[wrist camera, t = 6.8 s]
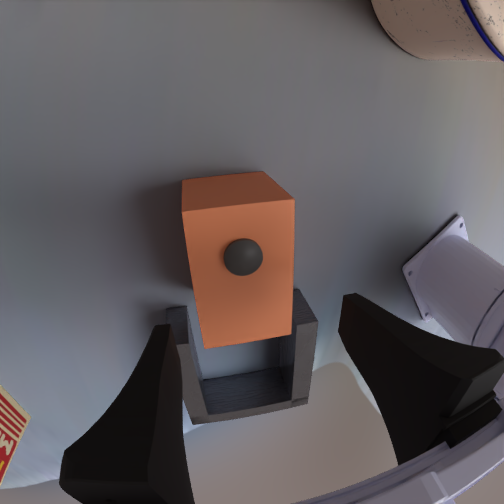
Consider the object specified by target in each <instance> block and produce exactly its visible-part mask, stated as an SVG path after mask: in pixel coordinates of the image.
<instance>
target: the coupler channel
mask: <svg viewBox="0 0 504 504" xmlns="http://www.w3.org/2000/svg"><path fill="white" fill-rule="evenodd" d="M166 324H171V327H172V331H173V335H174V339H175V342H176V346H177V350H178V353H179V357H180V361H181V371H182V381H183V400H184V403H185V405H186V408H187V411H188V414H189V416H190V419H191V421H192V424H193V425H195V424H204V423H210V422H218V421H225V420H231V419H238V418H243V417H249V416H254V415H260V414H265V413H269V412H274V411H278V410H283V409H288V408H292V407H296V406H300V405H304V404H307V403H308V396H309V390H310V383H311V376H312V369H313V361H314V353H315V345H316V337H317V328H318V320H317V318H316V317H315V315H314V313H313V312H312V310H311V308H310V307H309V305H308V303H307V302H306V300H305V298H304V296H303V295H302V293H301V291H300V290H299V289H296V290H293V303H292V328H291V334H289V335H284V336H280V344H279V367H277V368H272V369H267V370H262V371H257V372H251V373H245V374H240V375H234V376H227V377H221V378H214V379H207V380H203V377H202V373H201V369H200V365H199V361H198V357H197V352H196V348H195V343H194V339H193V334H192V330H191V325H190V320H189V316H188V311H187V306H184V307H177V308H169V309H167V310H166Z"/></svg>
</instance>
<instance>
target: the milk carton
mask: <svg viewBox="0 0 504 504" xmlns="http://www.w3.org/2000/svg"><path fill="white" fill-rule="evenodd" d="M30 419H31V416H30V415H29V414H28V413H27V412H26V411H25V410H24V409H23V408H22V407H21V406H20V405H19V404H18V403H17V402H16V401H15V400H14V399H13V398H12V397H11V396H10V395H9V394H8V392H7V391H6V390H5V389H4V388H3V387H2V386H1V385H0V486H1V483H2V481H3V478H4V476H5V473H6V471H7V469H8V466H9V464H10V462H11V460H12V457H13V455H14V453H15V451H16V448H17V446H18V444H19V442H20V440H21V437H22V435H23V433H24V431H25V429H26V427H27V425H28V423H29V421H30Z"/></svg>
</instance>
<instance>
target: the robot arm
mask: <svg viewBox="0 0 504 504" xmlns="http://www.w3.org/2000/svg"><path fill="white" fill-rule="evenodd" d="M402 271H403V273H404V276H405V278H406V280H407V282H408V285H409V287H410V289H411V291H412V294H413V296H414V298H415V301H416V303H417V306H418V308H419V310H420V313H421V315H422V318H423V320H424V321H425V322H429V321H430V320H431V319H432V318H434V319H435V320H436V321H437V322H438V323H439V324H440V325H441V326H442V327H443V328H444V329H445V330H446V331H447V333H448V334H449V335H450V336H451V337H452V338H453V339H454V340H455V341H456V342H455V341H451V340H448V339H445V338H442V337H439V336H437V335H434V334H431V333H429V332H427V331H424V330H422V329H420V328H418V327H415V326H414V325H412V324H410V323H408V322H406V321H404V320H402V319H400V318H398V317H397V316H395V315H393V314H391V313H390V312H388V311H386V310H385V309H383V308H381V307H380V306H378V305H376V304H375V303H373V302H371V301H370V300H368V299H366V298H364V297H363V296H361V295H359V294H357V293H353V294H348V295H343V303H342V309H341V316H340V322H339V328H338V333H339V335H340V337H341V340H342V342H343V344H344V346H345V349H346V351H347V352H348V354H349V356H350V357H351V359H352V361H353V362H354V364H355V366H356V367H357V369H358V370H359V372H360V374H361V375H362V377H363V378H364V380H365V382H366V383H367V385H368V387H369V388H370V390H371V392H372V394H373V396H374V398H375V400H376V403H377V405H378V407H379V409H380V412H381V414H382V417H383V419H384V422H385V424H386V427H387V430H388V432H389V435H390V438H391V441H392V444H393V448H394V451H395V454H396V458H397V462H398V466H397V467H395V468H393V469H391V470H388V471H386V472H384V473H381V474H379V475H377V476H374V477H372V478H369V479H367V480H364V481H362V482H359V483H357V484H354V485H351V486H348V487H346V488H343V489H340V490H337V491H334V492H331V493H328V494H325V495H321V496H318V497H315V498H311V499H307V500H304V501H300V502H296V503H292V504H456V503H455V501H454V499H455V498H456V497H458V496H459V495H461V494H462V493H463V492H465V491H466V490H468V489H469V488H470V487H472V486H473V485H474V484H476V483H477V482H479V481H480V480H481V479H482V478H484V477H485V476H486V475H488V474H489V473H490V472H491V471H492V470H494V469H495V468H496V467H497V466H499V465H500V464H501V463H502V462H503V461H504V266H503V265H501V264H500V263H499V262H497V261H496V260H494V259H493V258H492V257H490V256H489V255H487V254H486V253H484V252H483V251H481V250H480V249H479V248H477V247H476V246H474V245H473V244H471V243H470V242H469V241H468V236H467V232H466V228H465V223H464V219H463V217H462V216H460V215H458V216H457V217H455V218H454V219H453V220H452V221H451V222H450V223H449V224H448V225H447V226H446V227H445V228H444V229H443V230H442V231H441V232H440V233H439V234H438V235H437V236H436V237H435V238H434V239H433V240H432V241H430V242H429V243H428V244H427V245H426V246H425V247H424V248H423V249H422V250H421V251H420V252H418V253H417V254H416V255H415V256H414V257H413V258H412V259H411V260H409V261H408V262H407V263H406V264H405V265H404V266H403V269H402ZM182 402H183V381H182V371H181V361H180V357H179V353H178V350H177V346H176V342H175V339H174V335H173V331H172V327H171V324H164V325H156V326H155V327H154V328H153V331H152V333H151V336H150V338H149V340H148V343H147V345H146V347H145V349H144V351H143V353H142V355H141V357H140V359H139V361H138V363H137V365H136V367H135V369H134V371H133V372H132V374H131V376H130V378H129V379H128V381H127V383H126V384H125V386H124V387H123V389H122V390H121V392H120V393H119V395H118V396H117V398H116V399H115V400H114V402H113V403H112V404H111V405H110V407H109V408H108V409H107V410H106V412H105V413H104V414H103V415H102V416H101V418H100V419H99V420H98V421H97V422H96V423H95V424H94V425H93V426H92V427H91V428H90V429H89V430H88V431H87V432H86V433H85V434H84V435H83V436H82V437H80V438H79V439H78V440H77V441H76V442H74V443H73V444H72V445H71V446H70V447H68V448H67V449H66V450H65V451H64V455H63V458H62V463H61V471H60V479H59V480H60V481H59V485H60V486H61V488H62V489H63V490H64V491H65V492H66V493H67V494H69V495H71V496H72V497H73V498H75V499H76V500H78V501H79V502H81V503H82V504H195V502H194V498H193V493H192V488H191V483H190V478H189V472H188V466H187V461H186V454H185V446H184V439H183V415H182Z"/></svg>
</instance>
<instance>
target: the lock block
mask: <svg viewBox="0 0 504 504" xmlns="http://www.w3.org/2000/svg"><path fill="white" fill-rule="evenodd" d="M294 212H295V199H294V198H293V197H292V196H290V195H289V194H288V193H287V192H286V191H285V190H284V189H283V188H282V187H280V186H279V185H278V184H277V183H276V182H275V181H274V180H273V179H271V178H270V177H269V176H268V175H267V174H266V173H265V172H263V171H262V172H251V173H240V174H230V175H220V176H211V177H202V178H194V179H186V180H182V218H183V225H184V232H185V239H186V246H187V252H188V259H189V265H190V271H191V277H192V283H193V289H194V295H195V301H196V306H197V312H198V317H199V323H200V328H201V333H202V338H203V343H204V348H205V349H207V348H214V347H221V346H227V345H234V344H240V343H246V342H252V341H257V340H263V339H269V338H274V337H279V336H284V335H289V334H291V328H292V303H293V271H294Z"/></svg>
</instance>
